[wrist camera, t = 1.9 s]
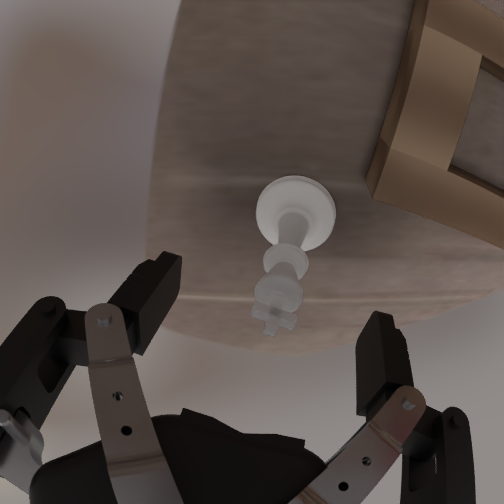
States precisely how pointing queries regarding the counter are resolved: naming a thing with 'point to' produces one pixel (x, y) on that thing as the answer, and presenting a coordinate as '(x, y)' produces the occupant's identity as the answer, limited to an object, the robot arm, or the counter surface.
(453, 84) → the frame
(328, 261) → the counter surface
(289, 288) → the chess piece
